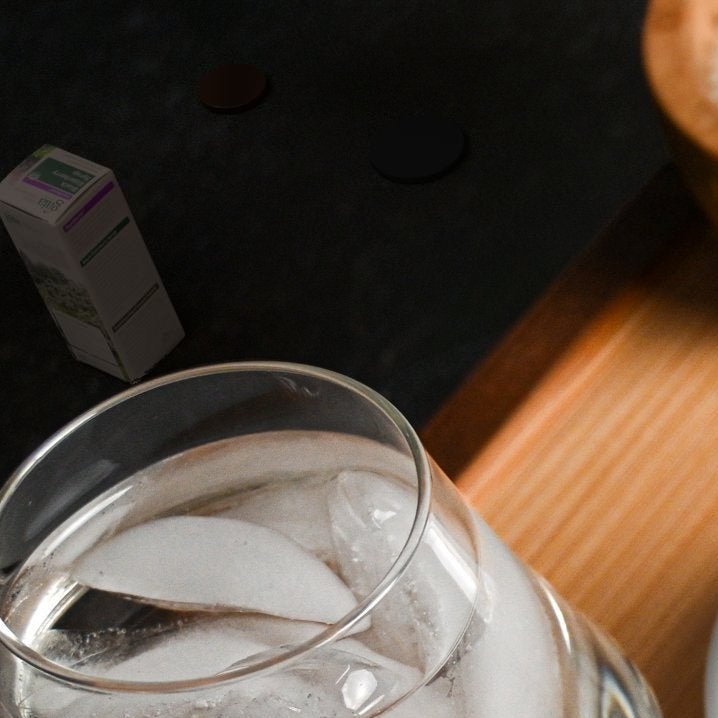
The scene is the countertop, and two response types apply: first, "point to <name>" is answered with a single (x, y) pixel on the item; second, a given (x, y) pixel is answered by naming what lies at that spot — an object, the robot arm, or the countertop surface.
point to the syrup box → (89, 262)
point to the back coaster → (232, 88)
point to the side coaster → (417, 149)
